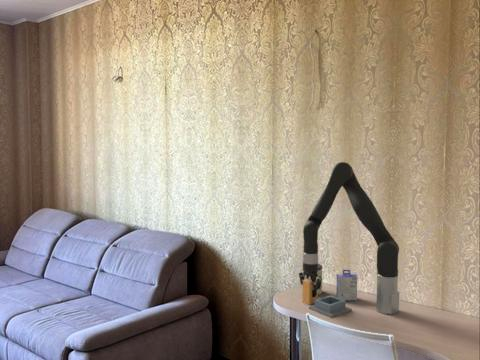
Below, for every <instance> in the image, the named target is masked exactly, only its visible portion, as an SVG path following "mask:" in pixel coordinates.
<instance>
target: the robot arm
mask: <svg viewBox="0 0 480 360" xmlns="http://www.w3.org/2000/svg"><path fill="white" fill-rule="evenodd" d="M331 170H332V171H331V174H330V177H329V179H328V183H327V184H326V186H325V188H324V190H323V192H322V194H321V196H319V199H318V200H317V202H316V204H315V205H314V207H313V209H312V211H311V213H310V215H309V217H308V218H307V220H306V222H305V223H304V226H303V230H302V231H303V233H302V234H303V255H302V272H299V273H298V275H299V281H300V285H301V286H303V280H306V278H308V279H309V280H310V282H311V285H312V297H316V295H317V289H320V286H321V283H322V284H323V277H322V278H319V277H318V275H317V272H318V264H319V243H318V237H319V236H318V235H319V229H320V227H321V225H322V224H323V221H324V220H325V219H326V217H327V216H328V214H329V212H330V210H331V209H332V207H333V205H334V202H335V199H336V197H337V196H338V194H339V191H340V190H341V189H342V188H343V189H344V191H345V193H346V194H347V197H348V200H349V202H350V205H351V207H352V210H353V211H354V213H355V215H356V217H357V219H358V220H359V221H360V223H361V225H363V227H365V228H366V229H367V231H368V232H369V233H370V234H371V236H372V237H373V239H374V241H375V243H376V246H377V250H376V271H377V272H376V305H375V307H376V308H375V309H376V311H377V312H378V313H381V314H386V315H394V314H397V313H399V312H400V292H399V291H398V289H399V288H398V285H399V283H398V281H399V265H398V264H399V253H400V246H399V244H398V243H397V242H396V240H395V239H394V237H393V236H392V235H391V234H390V232H389V230H388V229H387V227H386V226H385V224H384V221H383V219H382V218H381V215H380V214H379V212H378V209H377V208H376V207H375V205H374V203H373V201H372V200H371V199H370V197H369V196H368V194H367V192H366V191H365V190H364V189H363V187H362V186H361V184H360V182H359V180H358V179H357V176H356V174H355V172H354V169H353V166H352V165H350V163H348V162H343V161H341V162H337V163H336V164H335V165H334V166H333V167H332V169H331ZM303 271H304V272H303ZM313 282H315V283H313ZM314 285H315V287H314Z"/></svg>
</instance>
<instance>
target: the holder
mask: <svg viewBox="0 0 480 360" xmlns="http://www.w3.org/2000/svg"><path fill="white" fill-rule="evenodd" d="M346 304H347V300H343V299H340V298H337V297H336V296H334V295H331V294H330V295H327V296H324V297H320V298H318V299H317V300H315V303H314V304H311V305H309V306H308V309H309V310H311V311H314V312H316V313H319V314H321V315H324V316H326V317H329V318H335V317H337V316H340V315H343V314H346V313H349V312H352V308H351V307H349V306H347V305H346Z"/></svg>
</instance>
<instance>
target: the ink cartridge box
mask: <svg viewBox="0 0 480 360" xmlns="http://www.w3.org/2000/svg"><path fill="white" fill-rule="evenodd" d="M335 297H337V298H340V299H343V300H345V301H357V300H358V276H357V274H356V273H351V270H350V269H342V273H336V296H335Z"/></svg>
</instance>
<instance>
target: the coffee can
mask: <svg viewBox="0 0 480 360" xmlns="http://www.w3.org/2000/svg"><path fill="white" fill-rule="evenodd" d="M302 272H304V271H303V270H302ZM317 275H318V277H319V278H322V279H323V265H322V264H320V263H318V272H317ZM322 293H323V282H322V283H321V286H320V289H318V295H320V294H322Z"/></svg>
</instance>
